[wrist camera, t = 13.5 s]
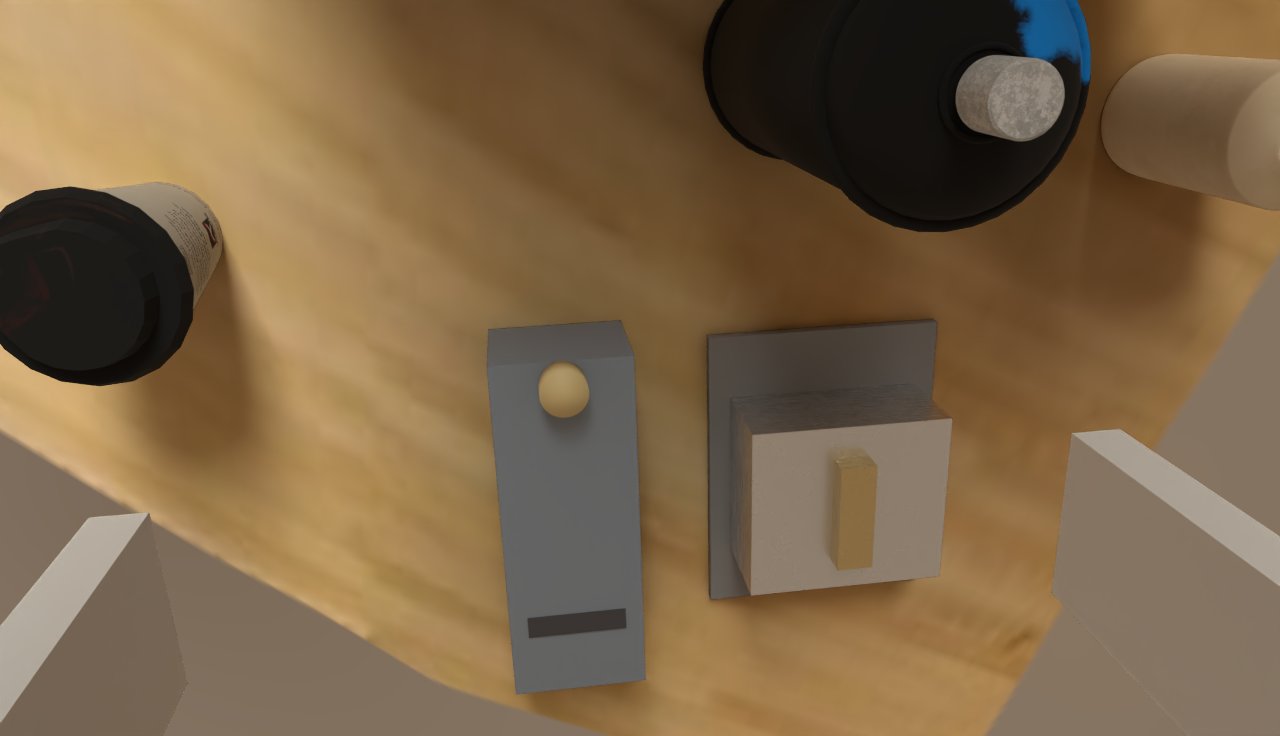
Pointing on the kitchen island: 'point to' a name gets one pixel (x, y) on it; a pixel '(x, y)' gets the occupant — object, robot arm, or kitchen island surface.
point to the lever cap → (837, 487)
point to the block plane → (568, 502)
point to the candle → (1199, 125)
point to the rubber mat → (796, 368)
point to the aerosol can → (905, 97)
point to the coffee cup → (103, 278)
